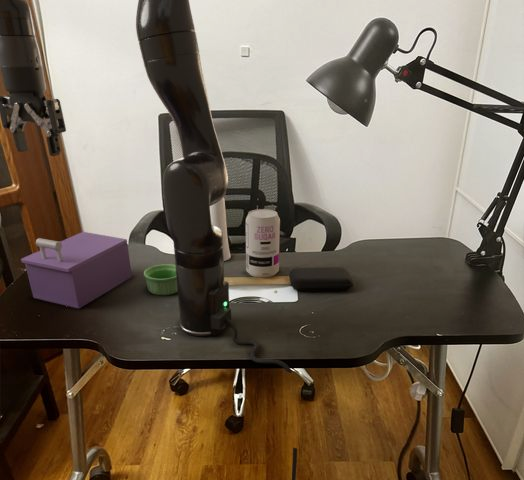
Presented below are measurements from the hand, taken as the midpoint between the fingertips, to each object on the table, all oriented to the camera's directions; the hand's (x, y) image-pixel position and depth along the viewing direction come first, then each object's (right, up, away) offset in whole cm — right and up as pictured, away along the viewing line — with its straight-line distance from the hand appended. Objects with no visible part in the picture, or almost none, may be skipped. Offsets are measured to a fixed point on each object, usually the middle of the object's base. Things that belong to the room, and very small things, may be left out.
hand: (39, 153), depth 107 cm
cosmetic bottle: (+34, -16, +32) cm, 50 cm away
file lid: (+4, -18, +11) cm, 22 cm away
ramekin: (+23, -26, +15) cm, 38 cm away
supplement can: (+46, -21, +24) cm, 56 cm away
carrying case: (+60, -25, +18) cm, 67 cm away
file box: (+4, -26, +16) cm, 30 cm away
